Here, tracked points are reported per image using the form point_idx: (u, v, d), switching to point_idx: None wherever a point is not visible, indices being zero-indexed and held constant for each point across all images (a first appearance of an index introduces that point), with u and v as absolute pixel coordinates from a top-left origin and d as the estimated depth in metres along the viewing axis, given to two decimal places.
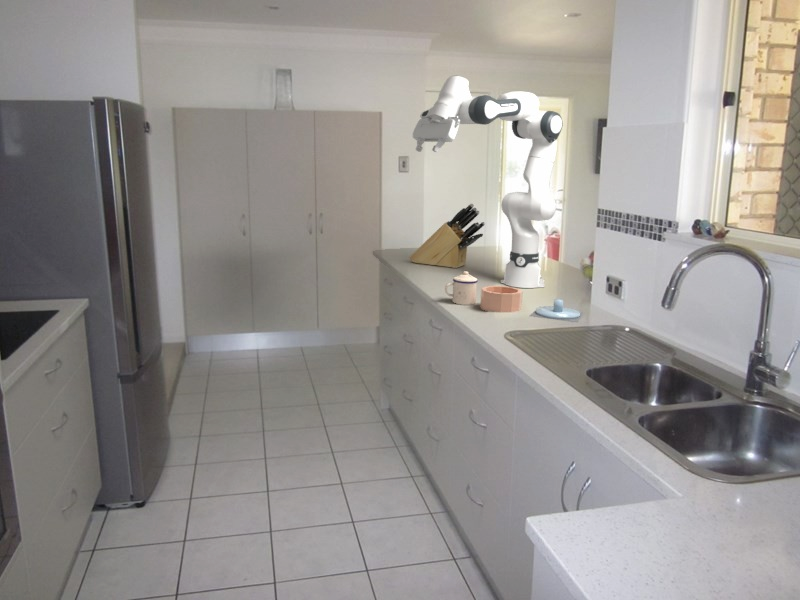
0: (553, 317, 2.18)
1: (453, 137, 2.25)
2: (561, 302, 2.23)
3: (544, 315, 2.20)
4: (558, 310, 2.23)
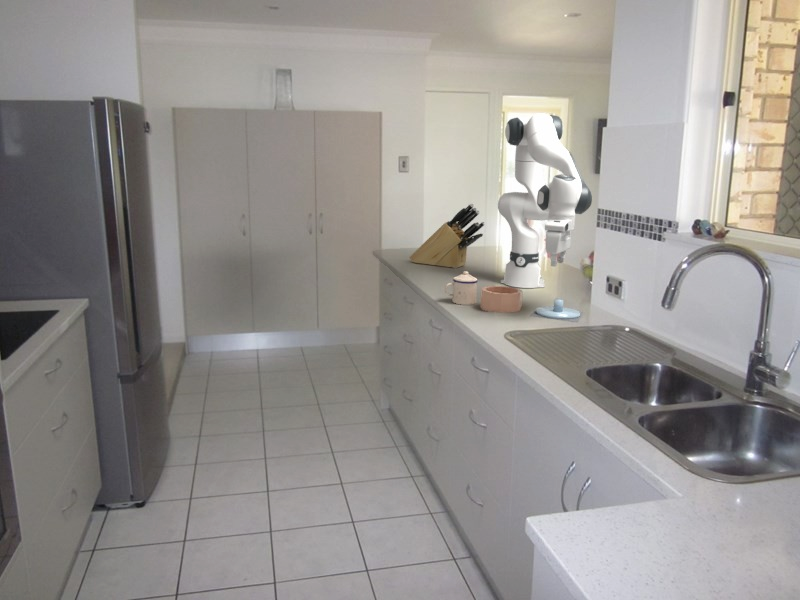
0: (553, 317, 2.18)
1: None
2: (561, 302, 2.23)
3: (544, 315, 2.20)
4: (558, 310, 2.23)
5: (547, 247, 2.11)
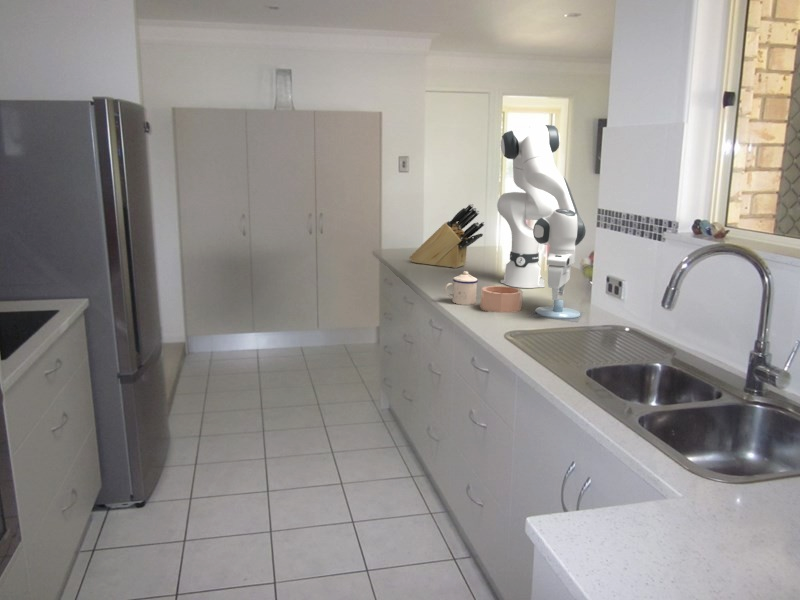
0: (553, 317, 2.18)
1: None
2: (561, 302, 2.23)
3: (544, 315, 2.20)
4: (558, 310, 2.23)
5: (549, 282, 2.14)
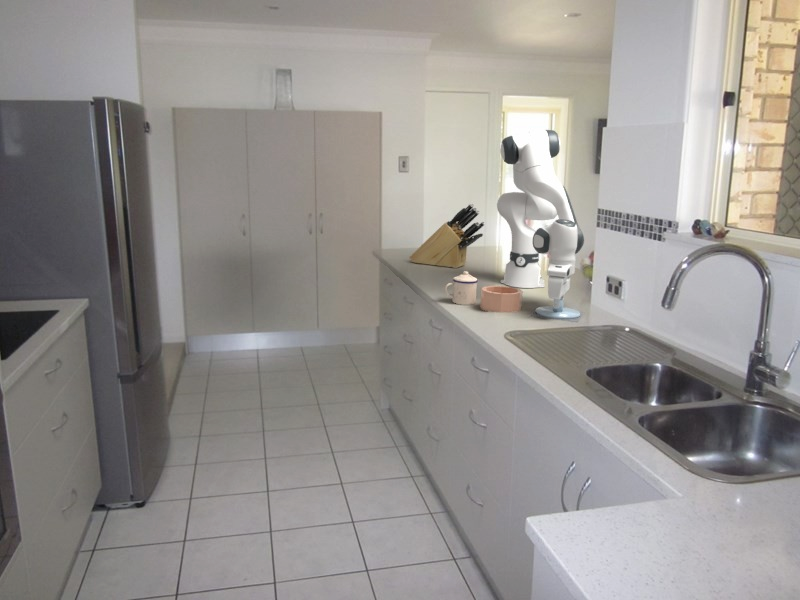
0: (553, 317, 2.18)
1: None
2: (561, 302, 2.23)
3: (544, 315, 2.20)
4: (558, 310, 2.23)
5: (550, 292, 2.15)
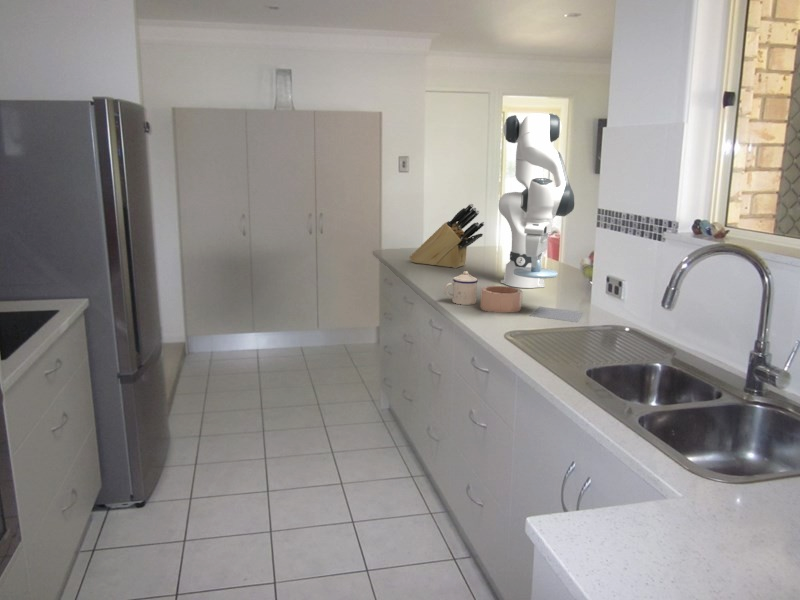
0: (531, 276, 2.19)
1: None
2: (539, 262, 2.23)
3: (522, 275, 2.21)
4: (536, 270, 2.24)
5: (527, 250, 2.15)
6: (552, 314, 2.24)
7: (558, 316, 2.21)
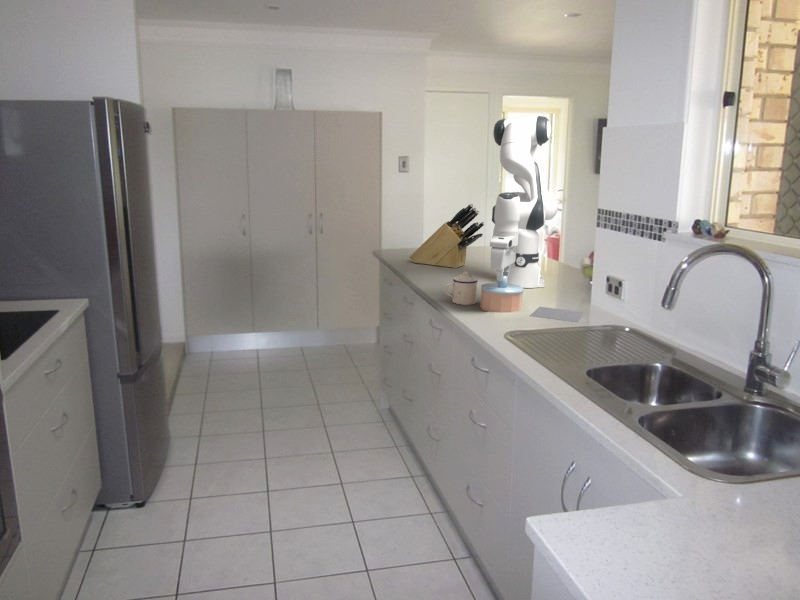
0: (496, 292, 2.24)
1: None
2: (505, 278, 2.28)
3: (488, 290, 2.26)
4: (502, 286, 2.29)
5: (492, 263, 2.20)
6: (552, 314, 2.24)
7: (558, 316, 2.21)
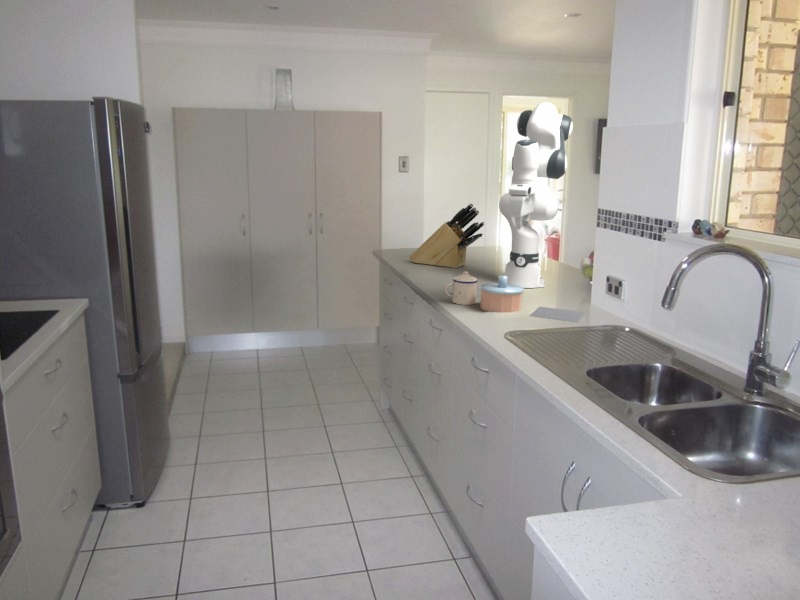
0: (496, 292, 2.24)
1: None
2: (505, 278, 2.28)
3: (488, 290, 2.26)
4: (502, 286, 2.29)
5: (511, 211, 2.18)
6: (552, 314, 2.24)
7: (558, 316, 2.21)
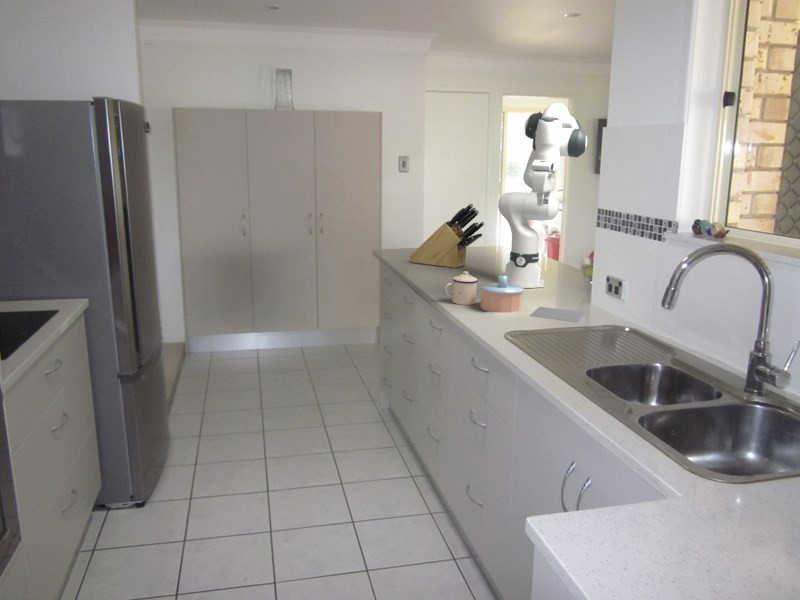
0: (496, 292, 2.24)
1: None
2: (505, 278, 2.28)
3: (488, 290, 2.26)
4: (502, 286, 2.29)
5: (534, 186, 2.19)
6: (552, 314, 2.24)
7: (558, 316, 2.21)
